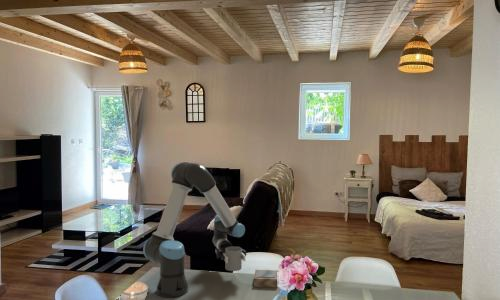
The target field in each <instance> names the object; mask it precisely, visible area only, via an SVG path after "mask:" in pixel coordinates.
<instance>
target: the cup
mask: <svg viewBox="0 0 500 300" xmlns="http://www.w3.org/2000/svg"><path fill="white" fill-rule="evenodd" d="M241 248H242V247H240V246H239V247H238V246H233V247H227V248H226V249H225V255H226V256H227V257H228V263H226V262H225V261H224V262H225V267H224V268H225V270H226V271H229V272H235V271H236V272H238V271H241V270H242V264H243V263H242V261H243V260H242V249H243V248H242V249H241Z"/></svg>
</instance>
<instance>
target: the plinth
mask: <svg viewBox="0 0 500 300" xmlns="http://www.w3.org/2000/svg"><path fill="white" fill-rule="evenodd" d="M277 272H278V273H279V270H277V269H276V270H274V269H255V271H254V276H253V287H259V288H260V287H262V288H263V287H264V288H265V287H266V288H267V287H269V288H278V287H277Z"/></svg>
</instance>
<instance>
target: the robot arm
mask: <svg viewBox="0 0 500 300" xmlns="http://www.w3.org/2000/svg"><path fill="white" fill-rule="evenodd" d="M170 173H171V174H170V175H171V178H172V179H171V183H170V184H171V186H172V188H171V191H170V194H169V197H168V199H167V202H166V204H165V207H164V210H163V212H162V215H161V218H160V221H159V224H158V227H157V229H156V231H153V232H152V234H151V237H149V239H146V240H145V242H144V244H143V248H142V249H143V250H142V252H143V255H144V257H145V258H146V259H147V260H148V261H150V262H152V263H154V264H155V265H158V266H159V278H158V281H157V285H156V295H158V296H159V297H162V298H177V297H181V296H184V295H185V294H186V293H188V291H189V283H188V280H187V278H186V274H185V246H184V244H183V243H182V242H180V241H178V240H175V239H174V236H173V235H174V233H175V230H176V227H177V224H178V222H179V219H180V216H181V214H182V211H183V207H184V205H185V202H186V199H187V197H188V193H190V192H192V191H193V188H194V187H195V188H196V189H197V190H198V192H199V193H200V194H203V195H204V197H205V198H206V200H207V202H208V203H209V204H210V207H212V209H213V210H214V212H215V214H216V215H214V221H213V237H212V243H213V245H214V247H216V248H215V251H214V252H215V254H216V259H218V260H219V259H220V261H224V262H226V263H228V257H227V256H226V255H225V249H226V248H227V247H234V246H233V244H232V243H231V241H229V240H228V236H231V237H234V238H235V237H236V238H241V237H243V236H244V235H245V232H246V227H245V225H244V224H242V223H241V222H240V223H239V221H238V220H237V218H236V217H235V215H234V213H233V211H232V210H231V208H230V207H229V206H228V204H227V202H226V200H225V198H224V197H223V196H222V194H221V192H220V191H219V189H218V187H217V185H216V184H217V182H216V181H215V178H214V177H213V176H212V174H211V173H210V172H209V170H208V169H207V168H206V167H205V166H203V165H202V164H200V163H197V162H195V163H194V162H187V161H183V162H178V163H176V164H174V166H173V167H172V169H171V172H170ZM237 247H240V246H237ZM240 248H241V249H242V261H243V262H246V256H247V251H246V250H245V249H243V248H242V247H240Z"/></svg>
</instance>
